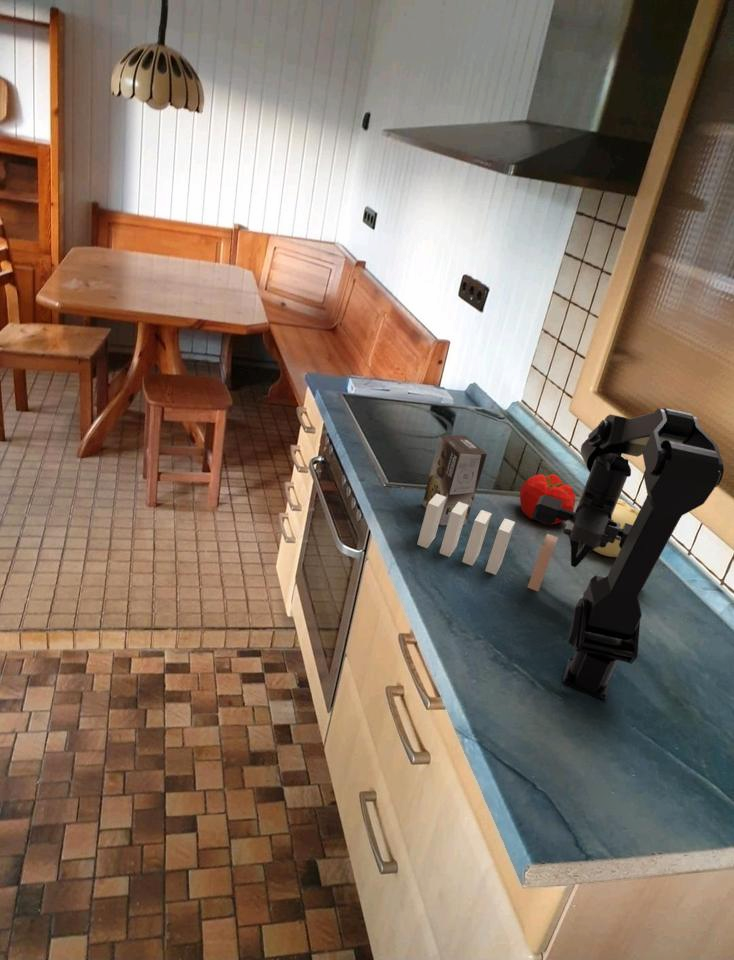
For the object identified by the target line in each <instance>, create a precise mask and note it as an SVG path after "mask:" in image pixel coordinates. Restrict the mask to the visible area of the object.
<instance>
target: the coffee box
mask: <svg viewBox="0 0 734 960" xmlns="http://www.w3.org/2000/svg"><path fill="white" fill-rule="evenodd" d="M487 455H488V454H487V453H486V452H485V451H484V450H483V449H482V448H480V446H478V445H477V444H476V443H474V441H473V440H471V439H470V438H469V437H468V436H466V435H463V434H462V435H459V434H456V435H454V434H452V435H451V434H449V435H438V439H437V444H436V447H435V452H434V456H433V460H432V463H431V468H430V472H429V477H428V481H427V483H426V488H425V492H424V496H423V499H422V500H423V501H422V506H423V507H424V508H425V510H426V509H427V506H428V503H429V502H430V500H431V499H432V498H433V497H434V496H435V495H436V493H437V494H439V495H442V496H445V497H446V500H445V504H444V507H443V511H442V514H441V518H440V522H439V525H440V526H447V524H448V521H449V517H450V514H451V511H452V510H453V508H454V507H455V506H456V504H457V503H458V502H461V503H464V504H467V505H469V506H468V510H467V513H466V516H465V520H464V523H463V526H466V525H467V524H468V518H469V517H470V516H469V515H470V512H471V508H472V506H473V503H474V499H475V496H476V492H477V489H478V486H479V482H480V479H481V476H482V472H483V469H484V466H485V463H486V462H485V461H486V459H487Z"/></svg>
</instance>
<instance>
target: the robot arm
mask: <svg viewBox="0 0 734 960" xmlns="http://www.w3.org/2000/svg"><path fill="white" fill-rule="evenodd" d="M587 437H588V438H587V439H585V440H584V442H583V443H582V444H581V446H580V455H581V457H582V459H583V462H584V464H585V466H586V468H587V470H588V471H589V474H588V477H587V481H586V483H585V485H584V488H583V491H582V493H581V495H580V498H579V501H578V504H577V507H576V508H575V512H574V511H573V512H572V511H569V510H566V509H563V508H561V505H562V503H563V501H561V500H558V499H555V498H552V497H550V496H547V495H543V496H541V497H540V498H539V500H538V502H537V504H536V507H535V509H534V512H533V515H532V518H533V519H535V520H534V521H537V522H540V523H541V522H543V523H542V524H544V523H546V524H545V525H547V524H551V525H553V524H552V523H554V522H555V520H556V518H558V519H561V520H563V521H564V522H565V525H564V528H563V531H562V533H563V535H566V536H567V537H568V538H569V542H570V543H569V544H570V566H571V567H573V568H576V567H578V566H579V564H580V563H581V562H582V561H583V560H584V559H585V558H586V557H587V555H589V554H590V553H591V552H592V551H594V550H593V549H595V548H597V547H601V548H605V547H606V544H607V543H608V542H610V543H612V544H613V543H614V541H615V539H617V540H620V543H619V546H620V548H621V550H620V552H619V554H618V556H617V557H615V560H614V563H613V564H612V567H611V568H610V571H609V573H608V574H607V575H606V576H601V575H594V576H593V577H591V578H590V580H589V583H588V586H587V588H586V589H585V591H584V592H583V597H582V598H580V599H578V601H577V602H576V604H575V606H574V609H573V613H572V614H573V616H572V621H571V624H570V628H569V629H570V631H569V634H568V636H567V643H569V644H570V645H571V646H572V647H573V648H574V649H573V650H574V652H575V654H574V656H573V657H568V659H567V662H566V665H565V671H564V675H563V679H562V682H563V684H565V685H566V686H569V687H571V688H573V689H576V690H578V691H579V692H580V691H581V692H583V693H585V694H588V695H590V696H592V697H595V698H597V699H599V700H602V701H606V700H607V698H608V696H609V695H608V694H609V689H610V682H611V676H612V674H613V672H614V670H615V667H616V664H617V663H618V661H620V662H625V663H627V664H630V665H631V664H633V663H634V661H636V660H637V658H638V653H639V642H640V641H639V639H640V638H639V637H640V627H641V626H640V624H641V623H640V622H641V618H642V609H641V604H640V601H639V600H640V599H639V597H640V595H641V592H642V591H643V590H644V588H643V587H645V586H646V583H647V581H648V580H649V577H650V576H651V574H652V572H653V571H654V570H653V569H654V568H655V566H656V564H657V562H658V561H659V559H660V557H661V555H662V553H663V551H664V550H665V548H666V547H667V544H668V543H669V540H670V539H671V536H672V534H673V533H674V531H675V529H676V527H677V525H678V524H679V522H680V520H681V518H682V517H683V516H685V515H686V514H688V513H690V512H691V511H693V510H696V509H697V508H698V507H700V506H701V507H702V506H703V505H704V504H705V503H706V501H707V500H708V498H709V497H710V495H712V493H713V491H714V490H715V488H717V487H718V486H719V485H720V483H721V481H722V480H723V477H724V471H725V470H724V469H725V467H724V464H723V463H724V462H723V459H722V456H721V453H720V450H719V446H718V445H717V443H716V442H715V441H714V440H713V439H712V438H711V437H710V436H709V435H708V434H707V433H706V432H705V431H704V429H702V427H700V423H699V421H698V418H697V417H696V416H694V415H693V414H692V413H689V412H684V411H681V410H676V409H671V408H666V407H663V408H657V409H656V410H655V411H654V412H650V413H646V414H642V415H638V416H635V417H632V418H630V417H625V416H620V415H617V414H616V415H615V414H608V415H607V416H606V417H605V418H604V419H602V420H601V421H600V423H599V424H598V425H597V426H596V427H595V428H594V429H593V430H592V431H591V432H590V433H589V434H588V436H587ZM623 454H624V455H628V456H632V457H640V456H642V458H643V462H644V468H645V469H644V472H643V478H644V479H643V480H644V484H645V485H644V486H645V489H646V494H647V495H646V498H645V499H644V501H643V504H642V506H641V508H640V509H639V514H638V516H637V518H636V520H635V522H634V524H633V525H630V524H627V523H625V525H624V527H623V529H620V525H621V524H620V523H617V522H614V521H613V520H612V514H613V511H614V509H615V506H616V504H617V501H618V499H620V496H621V493H622V491H623V488H624V486H625V483H626V481H627V478H628V477H629V478H630V477H631V475H632V468H631V466H630V464H629V459H627V458H625V457H623V456H622V455H623ZM581 543H583V544H582V546H581V548H580V544H581ZM579 548H580V549H579ZM642 589H643V590H642Z"/></svg>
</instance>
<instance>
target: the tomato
mask: <svg viewBox="0 0 734 960" xmlns="http://www.w3.org/2000/svg"><path fill="white" fill-rule="evenodd" d="M543 495H547V496H550V497H552V498H555V499H558V500H561V501H563V503H562V505H561V508H563V509H566V510H569V511H572V512H574V510H575V503H576V493H575V492H574V490H573V489H572V487H571V486H570V485H569V484H565V483H564V482H563V480H561V478H560V477H559V476H558V475H555V474H553V473H552V474H549V475H547V473H545V475H544V474H541V473H540V474H536V475H534V476H531V477H530V478H528V479H527V480H526V481H524V483H523V484H522V486H521V488H520V492H519V499H520V500H519V502H520V509H521V510H522V511H523V513H524V515H525V516H526V517H528V519H529V520H532V521H536V520H535V519H533V518H532V515H533V512H534V509H535V507H536V504H537V502H538V500H539V498H540V497H541V496H543ZM563 522H565V521H563V520H561V519H558V518H556V520H555V522H554V523H552V524H546V523H543V522H540V523H541V524H545V525H547V526H549V525H557V524H560V523H563Z"/></svg>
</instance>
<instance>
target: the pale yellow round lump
mask: <svg viewBox="0 0 734 960" xmlns="http://www.w3.org/2000/svg"><path fill="white" fill-rule="evenodd" d="M639 512H640V510H638V509H636V508H634V507H633V506H631V505H630V504H628V502H627V501H625V499H621V498H619V499H618V501H617V504H616V506H615V509H614V511H613V514H612V520H613V521H614V522H617V523H620V524H621V525H620V529H623V527H624V525H625V523H627V524H630V525H633V524H634V522H635V520H636V518H637V516H638V514H639ZM619 543H620V540H617V539H615V541H614V543H613V544H612V543H610V542H608V543H607V544H606V547H605V548H601V547H597V548H595V549H593V550H592V551H594V552H596V553H598V554H600V555H602V556H605V557H611V558H617V556H618V554H619V552H620V550H621V548H620V546H619Z"/></svg>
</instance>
